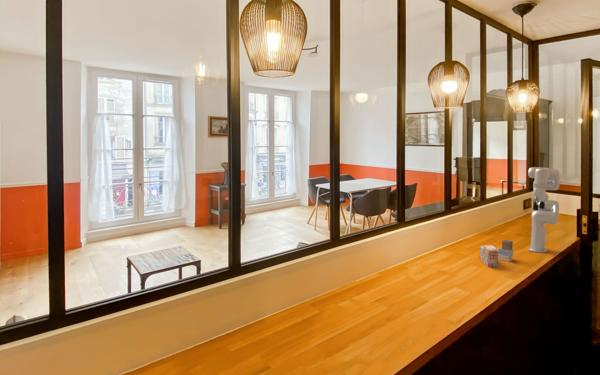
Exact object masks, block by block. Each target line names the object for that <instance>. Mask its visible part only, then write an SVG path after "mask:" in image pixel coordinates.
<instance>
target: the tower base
mask: <svg viewBox="0 0 600 375" xmlns="http://www.w3.org/2000/svg"><path fill="white" fill-rule="evenodd" d="M499 260H501V261H504V262H508V263H509V262H511V261H513V260H514V254H513V255H510V256H505V255H501V254H498V261H499Z"/></svg>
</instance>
